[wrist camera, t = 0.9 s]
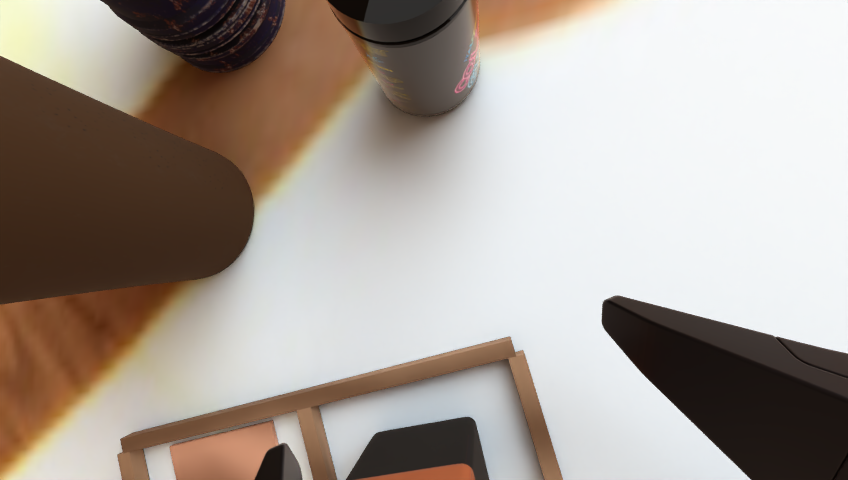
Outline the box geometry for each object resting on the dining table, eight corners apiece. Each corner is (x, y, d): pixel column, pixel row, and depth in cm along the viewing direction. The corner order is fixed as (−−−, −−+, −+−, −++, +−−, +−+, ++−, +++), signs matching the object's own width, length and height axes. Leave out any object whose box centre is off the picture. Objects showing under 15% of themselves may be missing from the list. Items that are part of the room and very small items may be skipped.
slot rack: (573, 515, 22) (577, 528, 21) (159, 590, 26) (147, 603, 25) (518, 334, 23) (519, 337, 22) (127, 433, 27) (114, 440, 26)
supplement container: (457, 135, 24) (438, 45, 14) (365, 103, 25) (285, -2, 15) (496, 37, 24) (505, -125, 14) (402, 9, 25) (346, -159, 15)
